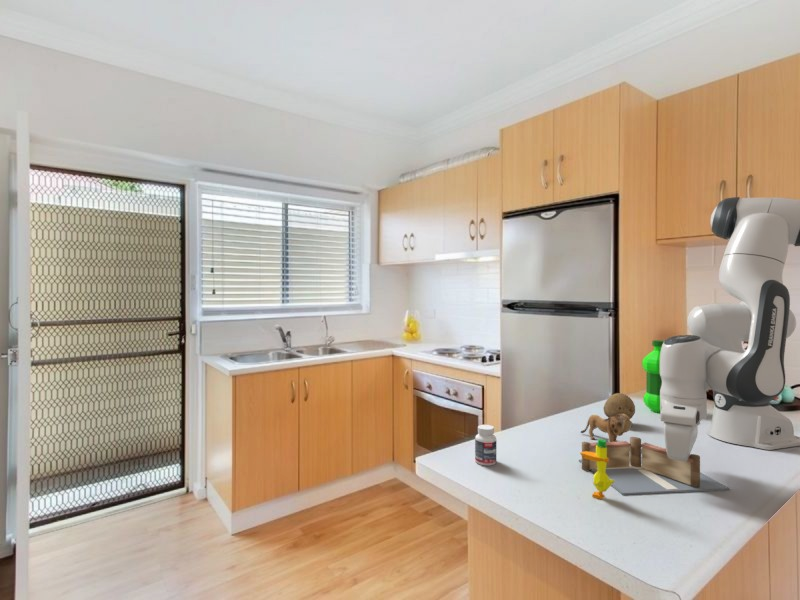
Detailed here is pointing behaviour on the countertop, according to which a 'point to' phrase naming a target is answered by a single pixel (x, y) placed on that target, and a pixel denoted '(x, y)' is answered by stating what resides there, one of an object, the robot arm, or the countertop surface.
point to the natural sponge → (619, 405)
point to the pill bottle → (485, 445)
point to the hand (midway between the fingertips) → (683, 467)
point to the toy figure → (599, 468)
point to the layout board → (654, 482)
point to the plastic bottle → (653, 377)
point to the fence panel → (671, 465)
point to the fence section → (615, 454)
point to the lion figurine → (609, 425)
